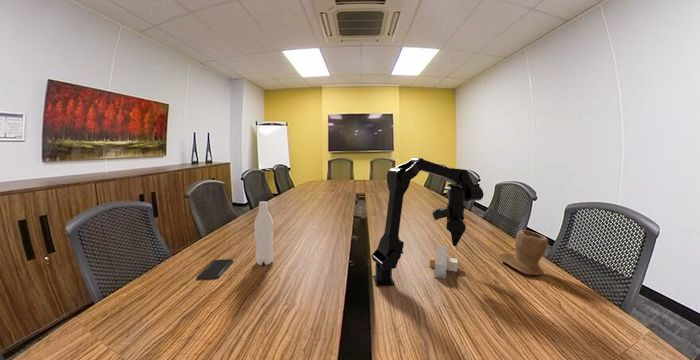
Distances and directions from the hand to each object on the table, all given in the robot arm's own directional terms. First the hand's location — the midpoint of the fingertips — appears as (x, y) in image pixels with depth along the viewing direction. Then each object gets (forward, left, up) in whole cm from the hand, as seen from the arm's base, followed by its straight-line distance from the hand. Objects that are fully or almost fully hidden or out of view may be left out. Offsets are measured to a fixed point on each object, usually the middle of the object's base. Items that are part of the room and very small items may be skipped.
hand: (454, 241), depth 99 cm
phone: (+5, +91, -11) cm, 92 cm away
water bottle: (+10, +74, -11) cm, 75 cm away
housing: (+2, +4, -11) cm, 12 cm away
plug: (+2, +3, -11) cm, 11 cm away
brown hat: (-1, -28, -11) cm, 30 cm away
